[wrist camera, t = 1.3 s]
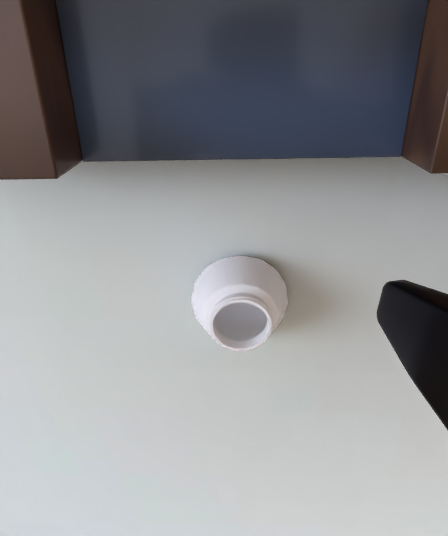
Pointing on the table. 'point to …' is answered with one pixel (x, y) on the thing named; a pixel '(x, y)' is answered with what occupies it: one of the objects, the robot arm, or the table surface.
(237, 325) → the lidless jar
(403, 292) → the robot arm
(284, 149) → the toy sofa
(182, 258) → the table surface
